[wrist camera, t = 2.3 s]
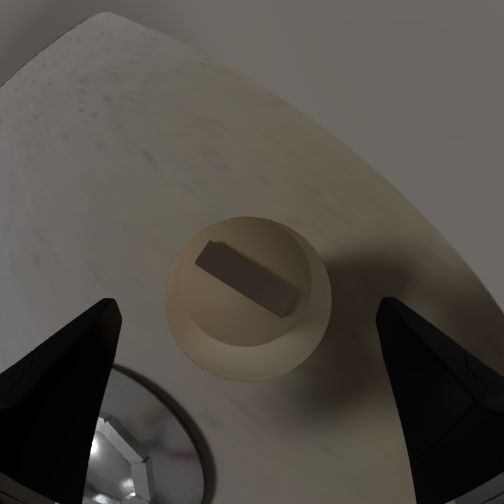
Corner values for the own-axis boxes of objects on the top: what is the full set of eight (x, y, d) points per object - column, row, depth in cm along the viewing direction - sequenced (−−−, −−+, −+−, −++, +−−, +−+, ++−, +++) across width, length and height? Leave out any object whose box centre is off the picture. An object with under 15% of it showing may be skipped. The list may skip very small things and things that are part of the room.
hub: (253, 480, 14) (253, 494, 12) (124, 548, 12) (116, 560, 10) (96, 316, 17) (81, 314, 15) (7, 418, 14) (-7, 422, 13)
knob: (304, 301, 17) (410, 236, 5) (263, 368, 16) (289, 456, 4) (238, 261, 18) (210, 125, 6) (195, 326, 17) (76, 313, 5)
